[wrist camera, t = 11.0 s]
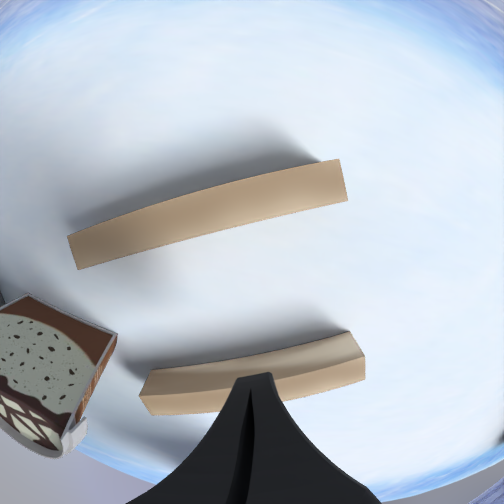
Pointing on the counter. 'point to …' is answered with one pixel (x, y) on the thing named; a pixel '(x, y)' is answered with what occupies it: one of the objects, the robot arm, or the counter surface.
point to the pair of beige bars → (209, 221)
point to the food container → (48, 374)
